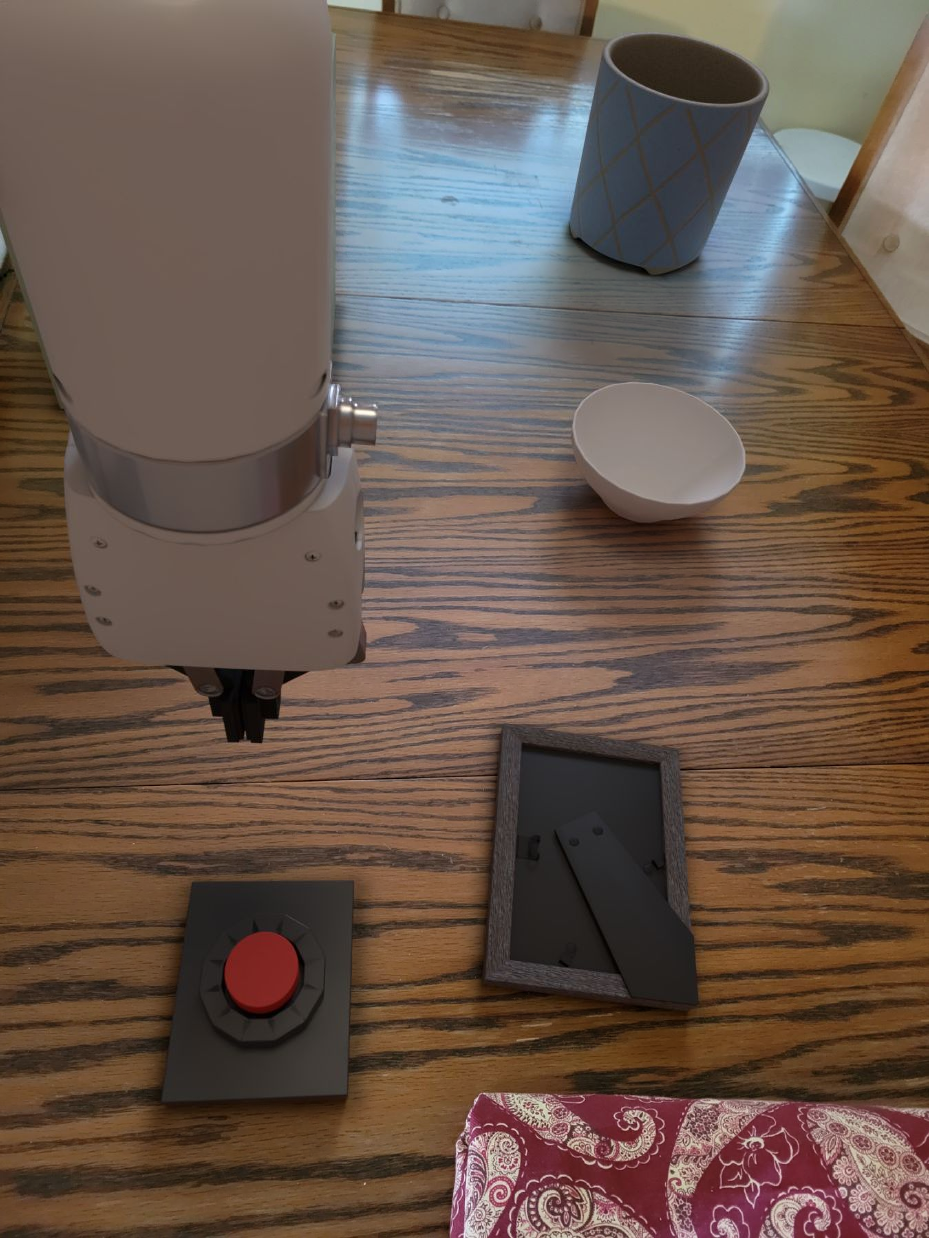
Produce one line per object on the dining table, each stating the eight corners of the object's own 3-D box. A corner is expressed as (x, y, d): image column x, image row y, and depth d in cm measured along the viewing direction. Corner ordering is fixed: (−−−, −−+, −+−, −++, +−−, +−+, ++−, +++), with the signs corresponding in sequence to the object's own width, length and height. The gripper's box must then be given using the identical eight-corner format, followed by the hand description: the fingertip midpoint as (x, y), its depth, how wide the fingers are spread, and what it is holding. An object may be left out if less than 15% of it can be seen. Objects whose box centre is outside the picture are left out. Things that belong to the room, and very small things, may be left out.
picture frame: (687, 1011, 53) (671, 757, 64) (698, 1004, 51) (680, 745, 62) (481, 984, 52) (500, 733, 63) (486, 977, 51) (504, 720, 61)
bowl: (743, 551, 78) (775, 498, 72) (581, 564, 74) (601, 510, 69) (684, 434, 87) (708, 379, 81) (537, 440, 83) (552, 383, 77)
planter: (728, 239, 112) (794, 74, 96) (667, 298, 101) (730, 124, 85) (605, 184, 116) (649, 18, 100) (536, 235, 106) (572, 59, 90)
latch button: (296, 1013, 47) (295, 1006, 45) (223, 1014, 46) (220, 1008, 45) (301, 939, 49) (300, 930, 48) (231, 940, 49) (228, 931, 47)
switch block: (347, 1100, 48) (348, 1091, 45) (166, 1107, 46) (154, 1098, 43) (353, 890, 55) (354, 869, 52) (196, 892, 53) (187, 870, 50)
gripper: (446, 367, 29) (405, 658, 43) (-17, 323, 27) (104, 643, 41) (451, 531, 24) (403, 793, 39) (-103, 492, 22) (66, 783, 37)
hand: (249, 715), depth 40 cm, fingers closed
